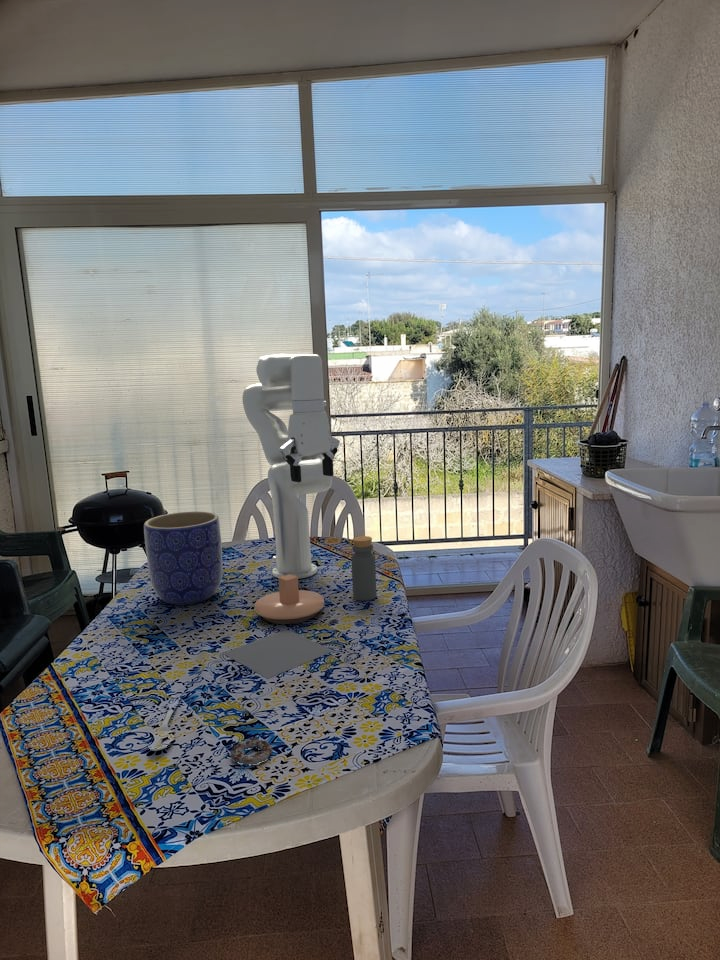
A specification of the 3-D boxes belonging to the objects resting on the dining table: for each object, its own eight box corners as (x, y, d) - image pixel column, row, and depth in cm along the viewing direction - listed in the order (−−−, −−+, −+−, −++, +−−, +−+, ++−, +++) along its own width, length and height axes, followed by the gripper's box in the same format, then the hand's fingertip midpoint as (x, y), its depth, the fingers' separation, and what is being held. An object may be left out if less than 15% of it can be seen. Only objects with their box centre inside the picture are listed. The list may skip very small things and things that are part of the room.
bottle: (377, 592, 165) (375, 535, 162) (375, 601, 159) (373, 541, 157) (354, 592, 166) (351, 535, 163) (351, 601, 160) (349, 541, 157)
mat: (222, 655, 133) (222, 652, 132) (287, 631, 143) (286, 629, 143) (267, 681, 121) (267, 678, 121) (334, 653, 131) (333, 650, 131)
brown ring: (301, 600, 162) (300, 590, 162) (334, 618, 150) (333, 607, 150) (247, 616, 154) (246, 605, 154) (277, 635, 142) (276, 623, 142)
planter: (215, 609, 158) (208, 527, 154) (140, 612, 159) (131, 529, 155) (232, 584, 176) (226, 509, 173) (165, 586, 177) (157, 512, 173)
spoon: (142, 760, 99) (141, 750, 98) (167, 693, 119) (166, 685, 119) (170, 757, 99) (169, 747, 99) (190, 691, 119) (189, 682, 119)
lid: (241, 607, 153) (239, 578, 151) (297, 589, 163) (295, 562, 162) (281, 625, 141) (279, 594, 140) (338, 604, 151) (336, 576, 150)
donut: (289, 754, 99) (288, 742, 99) (253, 783, 93) (252, 770, 92) (249, 738, 104) (248, 726, 103) (212, 764, 98) (211, 751, 97)
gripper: (326, 404, 163) (330, 472, 166) (269, 409, 152) (273, 482, 155) (346, 404, 157) (349, 474, 160) (288, 410, 146) (292, 485, 149)
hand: (312, 478), depth 158 cm, fingers open, 9 cm apart
